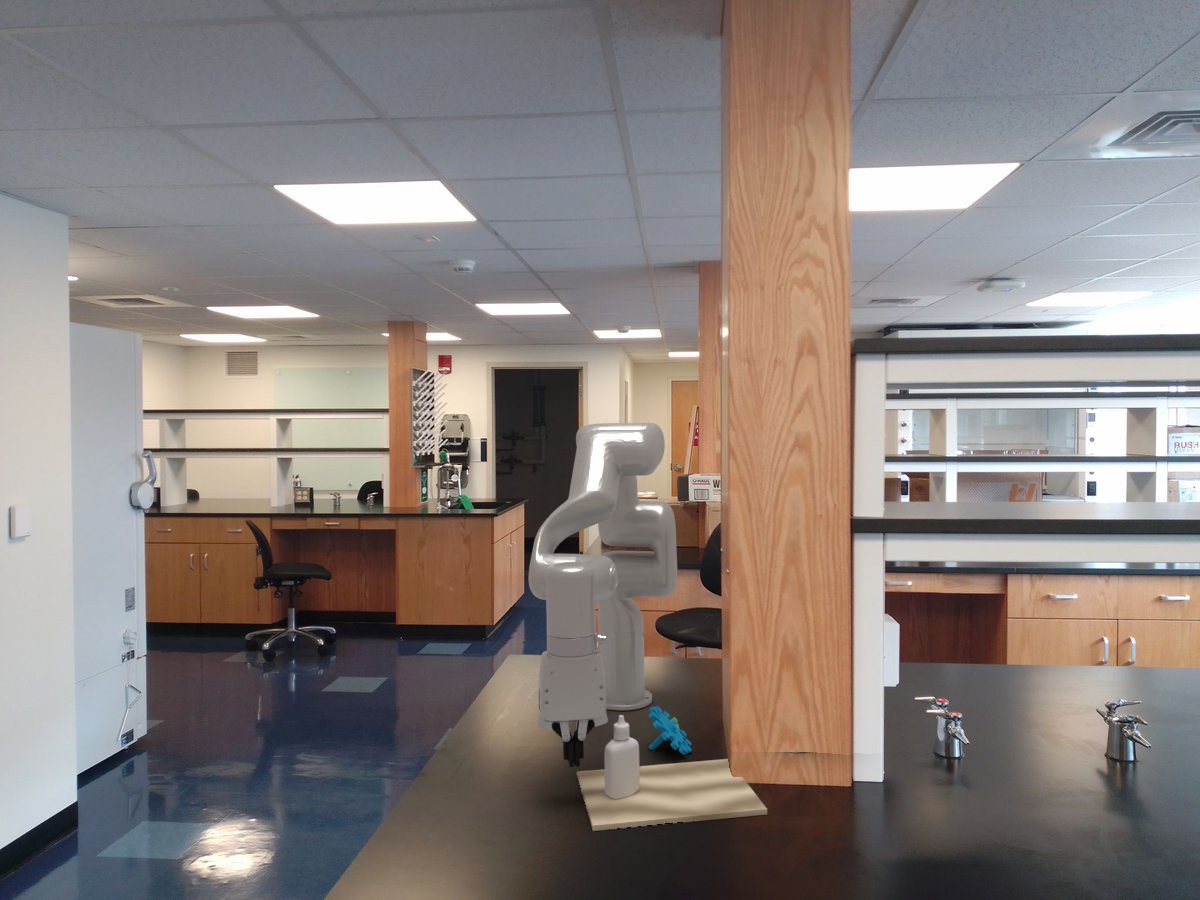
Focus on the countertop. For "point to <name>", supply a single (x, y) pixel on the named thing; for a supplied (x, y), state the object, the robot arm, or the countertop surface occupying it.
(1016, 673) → the countertop surface
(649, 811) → the beige flat sheet
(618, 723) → the eye dropper bottle
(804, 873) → the countertop surface
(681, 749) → the gear
